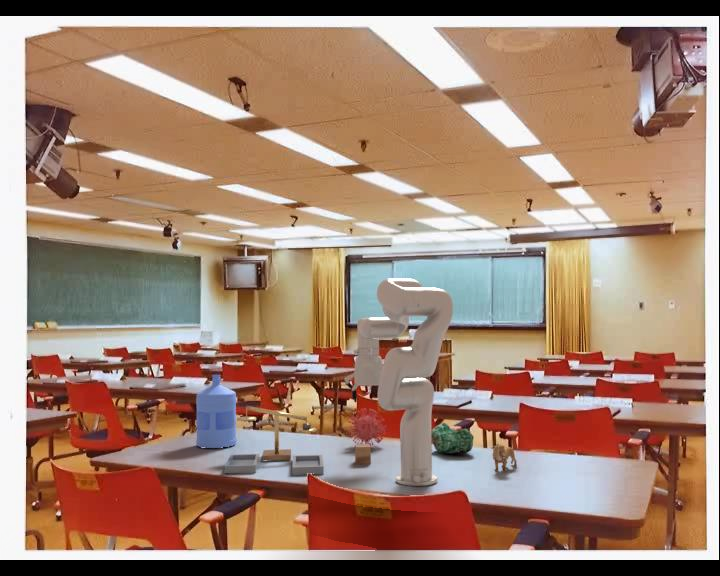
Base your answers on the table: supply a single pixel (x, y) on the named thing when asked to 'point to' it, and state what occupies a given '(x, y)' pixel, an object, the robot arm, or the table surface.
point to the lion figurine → (503, 456)
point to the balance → (277, 453)
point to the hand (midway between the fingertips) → (369, 401)
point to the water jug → (216, 416)
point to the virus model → (366, 427)
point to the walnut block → (362, 454)
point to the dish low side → (307, 464)
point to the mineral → (451, 439)
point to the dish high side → (242, 463)
